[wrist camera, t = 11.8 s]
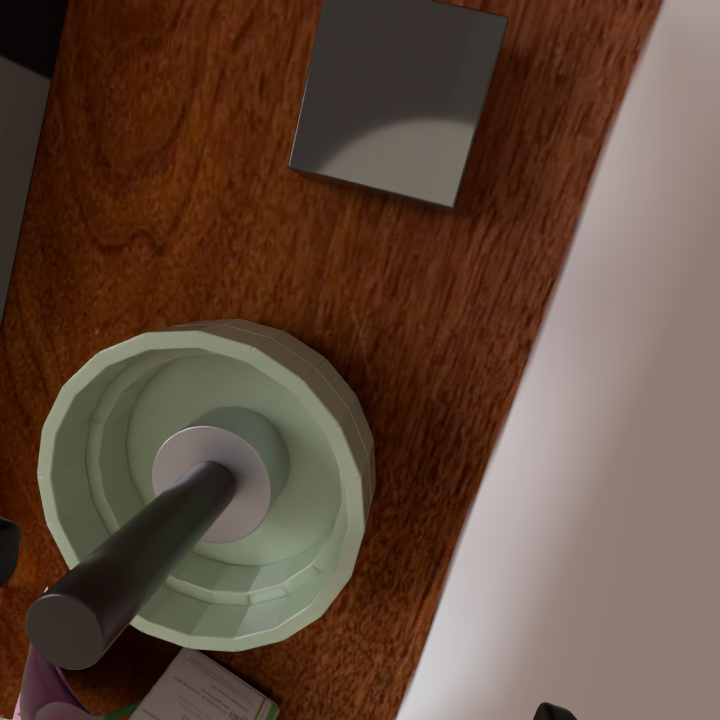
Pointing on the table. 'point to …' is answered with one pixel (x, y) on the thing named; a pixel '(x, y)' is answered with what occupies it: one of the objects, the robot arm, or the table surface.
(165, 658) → the table surface
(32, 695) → the lily
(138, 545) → the black post
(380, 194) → the pole stand base
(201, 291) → the table surface
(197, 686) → the syrup box
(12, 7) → the book
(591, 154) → the table surface
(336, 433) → the bowl
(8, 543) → the robot arm
